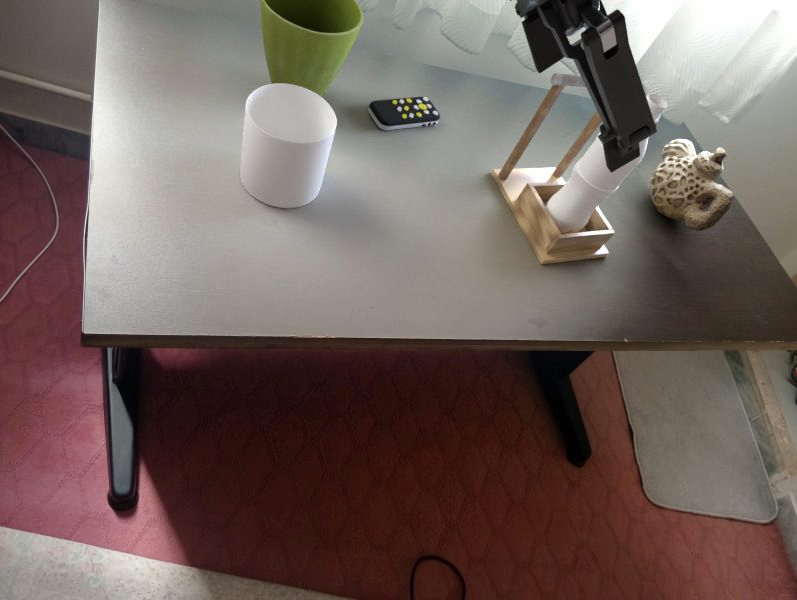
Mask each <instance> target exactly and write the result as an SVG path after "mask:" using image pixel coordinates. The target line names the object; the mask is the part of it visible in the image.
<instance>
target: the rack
mask: <svg viewBox="0 0 797 600" xmlns="http://www.w3.org/2000/svg"><path fill="white" fill-rule="evenodd" d="M550 83H551V87H550V89H549V90H548V91H547V93H546V95H545V96H544V98H543V100H542V102H541V103H540V105H539V107H538V108H537V110H536V111H535V114H534V115H533V117H532V118H531V120H530V122H529V123H528V125H527V127H526V128H525V130H524V131H523V133H522V135H521V137H520V138H519V139H518V142H517V143H516V145H515V146H514V148H513V150H512V152H511V153H510V154H509V156H508V158H507V160H506V161H505V163H504V165H503V166H502V168H493V169H492V170H491V172H490V174H491V176H492V178H493V180H494V181H495V183H496V185H497V187H498V189H499V190H500V192H501V194H502V196H503V198H504V200H505V202H506V203H507V205H508V207H509V209H510V211H511V212H512V214H513V216H514V218H515V220H516V222H517V223H518V225H519V227H520V229H521V231H522V233H523V235H524V236H525V238H526V240H527V242H528V244H529V245H530V247H531V250H532V251H533V253H534V255H535V256H536V258H537V260H538V261H539V264H540V265H547V264H557V263H565V262H573V261H581V260H591V259H597V258H606V257H607V256H609V254H610V251H609V250H608V249H607V247H606V243H607V242H608V241H609V240H610V239H611V238H612V237H613V236H614V235H616V232H615V230H614V228H613V227H612V226H611V224H610V222H609V221H608V220H607V218H606V216H605V214H604V213H603V212H602V210H601V209H600V207H599V205H598V206H597V207H596V209H595V210H594V211H593V213H592V214H591V216H590V218H589V220H588V223H587V224H586V225H585V226H584V227H583V228H582V229H581V230H580V231H578V232H577V233H568V234H565V233H563V234H561V232H560V231H559V229H558V227H557V226H556V224H555V222H554V221H553V219H552V217H551V215H550V214H549V212H548V210H547V209H546V205H547V202H548V201H549V199H550V198H551V197H552V196H553V195H554V194H555V193H557V192H558V191H559V190H560V189H561V188H562V187H563V186H564V185H565V184H566V183H567V181H568V180H566V181H565V180H564V178H563V177H562V176H563V175H564V174H565V172H566V171H567V169H568V168H569V167H570V166H571V164H572V163H573V161H574V160H575V159H576V157H577V156H578V154H579V153H580V152H581V150H582V149H583V148H584V147H585V145H586V144H587V142H588V141H589V140H590V138H591V137H592V136H593V134H594V133H595V131H596V130H597V129H598V128H599V126H600V125H601V123H603V122H602V120H601V118H600V116H599V113H598V111H597V110H596V112H595V113H594V115H593V116H592V117H591V118H590V120H589V121H588V123H587V124H586V125H585V127H584V128H583V130H582V131H581V133H580V134H579V135H578V137H577V138H576V139H575V141H574V143H573V144H572V145H571V147H570V148H569V149H568V150H567V152H566V154H565V155H564V156H563V158H562V159H561V161H560V162H559V163H558V165H557V166H556V167H522V168H520V167H519V168H515V167H516V165H517V164H518V163H519V160H520V159H521V158H522V156H523V154H524V152H525V151H526V149H527V148H528V146H529V145H530V143H531V141H533V138H534V137H535V135H536V133H537V132H538V130H539V129H540V127H541V125H542V124H543V122H544V121H545V119H546V118H547V116H548V115H549V112H550V111H551V110H552V108H553V107H554V105H555V103H556V102H557V100H558V98H559V96H560V95H561V94H562V92H563V90H564V89H565V87H577V88H586V86H585V84H584V81H583V79H582V77H581V75H580V74H573V73H558V72H555V73H553V74H552V75H551V77H550Z"/></svg>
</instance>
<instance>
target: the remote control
mask: <svg viewBox="0 0 797 600" xmlns="http://www.w3.org/2000/svg"><path fill="white" fill-rule="evenodd" d="M367 109H368V113H369V115H370V117H371V118H372V119H373V121H374V123H375V124H376V126H377V127H378V128H379V129H380V130H383V131H395V130H402V129H411V128H420V127H428V126H435V125H437V124H438V123H439V121H440V119H441V113H440V112H439V111H438V108H436V107H435V106H434V104H433V102H432V101H431V100H430V99H429V98H428V97H426V96H413V97H411V96H410V97H399V98H390V99H377V100H376V99H375V100H372V101H370V103H369V106H368V108H367Z"/></svg>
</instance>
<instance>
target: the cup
mask: <svg viewBox="0 0 797 600" xmlns="http://www.w3.org/2000/svg"><path fill="white" fill-rule="evenodd" d="M244 106H245V107H244V118H243V119H244V120H243V130H242V133H243V134H242V140H241V141H242V143H241V155H240V164H239V165H240V166H239V167H240V168H239V176H240V181H241V185H242V186H243V187H244V189H245V190H246V191H247V192H248V194H250V195H251V196H252V197H253V198H254V199H256V200H257V201H259V202H261V203H263V204H265V205H267V206H271V207H274V208H280V209H295V208H300V207H303V206H307V205H308V204H309V203H311V202H313V201H314V200H315V199H316V198H317V197H318V195H319V194H320V192H321V188H322V184H323V181H324V176H325V172H326V168H327V164H328V161H329V157H330V153H331V149H332V145H333V142H334V139H335V138H334V137H335V134H336V129H337V126H338V120H337V116H336V113H335V111H334V109H333V107H332V106H331V105H330V103H329V102H328V101H327V100H326V99H324V98H323V96H322V97H320V96H319V95H318V94H316V93H314V92H312V91H311V90H308V89H306V88H303V87H301V86H297V85H293V84H285V83H274V84H272V83H269V84H264V85H262V86H259V87H257V88H256V89H254V90H253V91H251V93H249V95H248V96H247V98H246V101H245V105H244Z"/></svg>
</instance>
